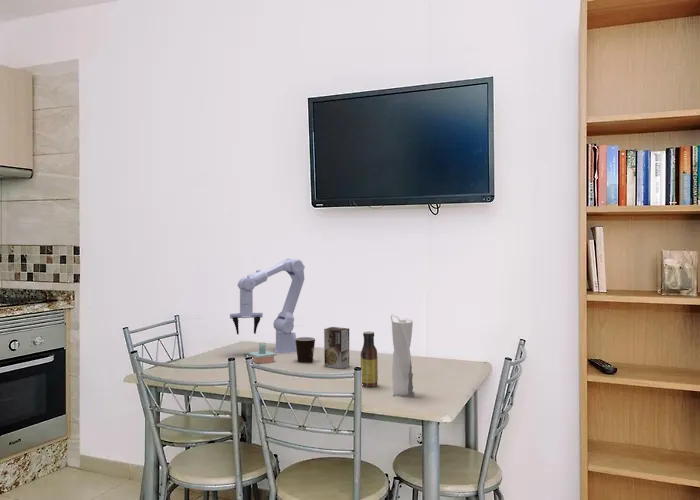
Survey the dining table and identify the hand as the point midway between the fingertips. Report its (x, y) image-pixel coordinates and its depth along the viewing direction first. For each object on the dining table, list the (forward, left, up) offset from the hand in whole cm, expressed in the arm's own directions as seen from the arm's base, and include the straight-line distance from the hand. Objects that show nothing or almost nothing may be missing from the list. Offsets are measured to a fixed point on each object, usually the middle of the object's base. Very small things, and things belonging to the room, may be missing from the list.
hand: (246, 333), depth 266 cm
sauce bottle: (-39, +63, -10) cm, 75 cm away
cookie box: (-35, +30, -10) cm, 47 cm away
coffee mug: (-25, +17, -10) cm, 32 cm away
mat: (-5, +2, -10) cm, 12 cm away
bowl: (-6, +14, -10) cm, 18 cm away
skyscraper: (-47, +76, -11) cm, 90 cm away
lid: (-6, +14, -7) cm, 16 cm away
